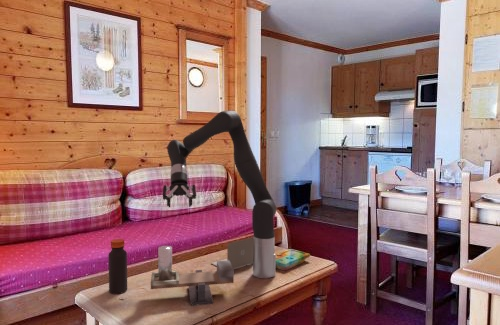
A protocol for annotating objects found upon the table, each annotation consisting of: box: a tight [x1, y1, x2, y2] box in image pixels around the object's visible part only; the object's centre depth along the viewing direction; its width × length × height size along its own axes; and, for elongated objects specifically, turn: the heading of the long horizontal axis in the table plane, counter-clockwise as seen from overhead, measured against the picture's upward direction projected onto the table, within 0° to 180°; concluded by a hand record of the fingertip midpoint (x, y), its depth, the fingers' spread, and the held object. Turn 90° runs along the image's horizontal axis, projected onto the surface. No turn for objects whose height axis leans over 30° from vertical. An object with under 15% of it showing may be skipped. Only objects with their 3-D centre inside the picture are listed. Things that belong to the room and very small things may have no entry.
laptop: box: [210, 236, 254, 270], centre depth 178 cm, size 18×12×13 cm
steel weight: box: [157, 245, 173, 281], centre depth 140 cm, size 5×5×12 cm
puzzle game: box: [274, 248, 311, 271], centre depth 180 cm, size 12×5×20 cm
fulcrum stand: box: [188, 269, 214, 307], centre depth 143 cm, size 8×16×7 cm, turn 12°
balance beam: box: [150, 260, 235, 290], centre depth 142 cm, size 30×10×5 cm, turn 102°
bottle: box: [107, 238, 128, 295], centre depth 146 cm, size 7×7×20 cm
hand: (179, 206), depth 160 cm, fingers open, 8 cm apart
